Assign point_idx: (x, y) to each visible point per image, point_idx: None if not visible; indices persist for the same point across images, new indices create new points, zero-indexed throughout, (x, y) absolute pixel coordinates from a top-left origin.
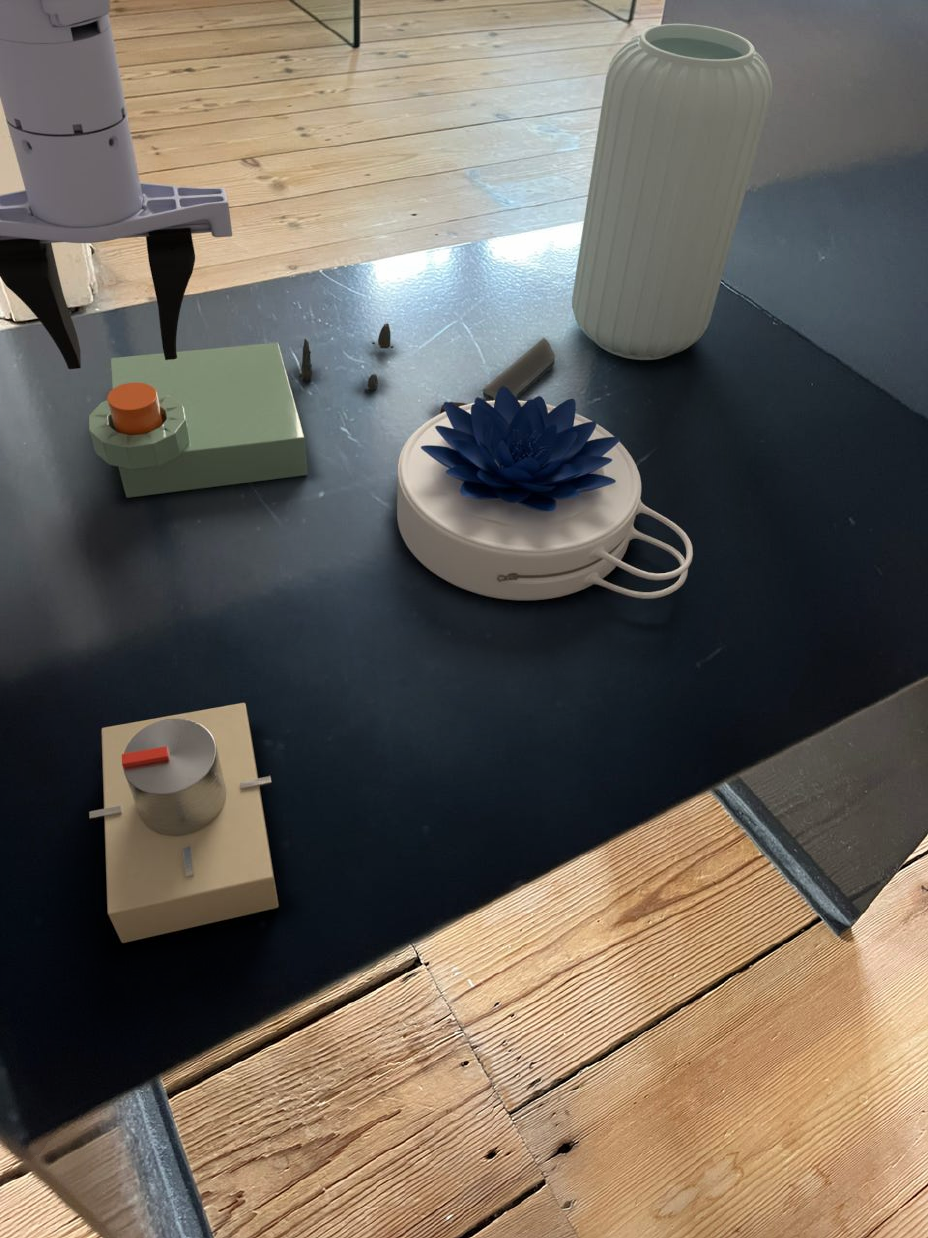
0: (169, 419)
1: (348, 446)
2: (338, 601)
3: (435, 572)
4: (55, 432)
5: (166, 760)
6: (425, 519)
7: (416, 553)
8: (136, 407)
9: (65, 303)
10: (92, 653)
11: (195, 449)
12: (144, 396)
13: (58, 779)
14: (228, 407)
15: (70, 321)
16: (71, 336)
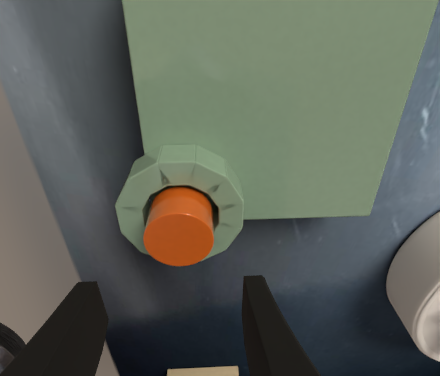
0: (222, 226)
1: (412, 146)
2: (314, 306)
3: (390, 302)
4: (50, 49)
5: None
6: (413, 337)
7: (388, 292)
8: (185, 262)
9: (52, 369)
10: (148, 320)
11: (243, 218)
12: (196, 244)
13: (140, 371)
14: (300, 147)
15: (74, 348)
16: (87, 369)
